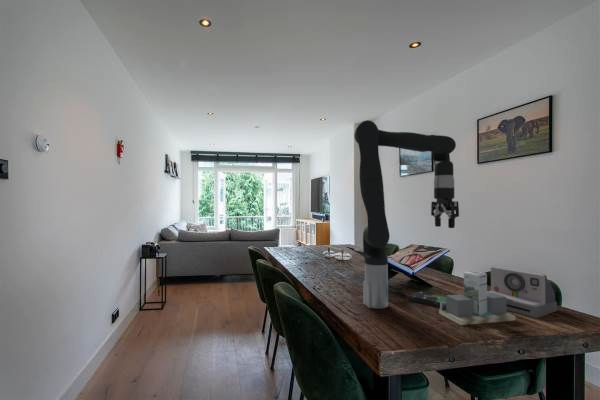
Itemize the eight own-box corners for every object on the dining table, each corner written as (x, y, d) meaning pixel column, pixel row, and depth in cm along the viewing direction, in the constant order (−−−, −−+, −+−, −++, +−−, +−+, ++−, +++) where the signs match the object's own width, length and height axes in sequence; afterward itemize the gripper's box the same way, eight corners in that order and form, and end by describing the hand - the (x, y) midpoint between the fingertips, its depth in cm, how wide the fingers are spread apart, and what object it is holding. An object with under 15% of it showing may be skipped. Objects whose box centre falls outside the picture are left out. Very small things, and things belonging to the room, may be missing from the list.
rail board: (461, 325, 109) (460, 303, 109) (439, 313, 121) (438, 293, 121) (515, 320, 113) (515, 299, 114) (489, 309, 125) (489, 290, 125)
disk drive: (408, 302, 137) (442, 309, 127) (408, 295, 138) (442, 302, 127) (419, 297, 145) (453, 304, 134) (419, 291, 145) (453, 297, 134)
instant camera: (478, 302, 134) (477, 267, 135) (513, 297, 142) (512, 263, 142) (529, 319, 115) (528, 277, 115) (567, 312, 122) (566, 273, 122)
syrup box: (488, 312, 116) (487, 272, 117) (479, 315, 113) (478, 274, 114) (472, 308, 121) (472, 270, 122) (463, 311, 118) (463, 272, 118)
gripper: (425, 188, 135) (425, 226, 135) (447, 186, 121) (447, 228, 121) (441, 188, 137) (441, 226, 136) (464, 186, 123) (465, 228, 122)
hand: (444, 227), depth 129 cm, fingers open, 8 cm apart
